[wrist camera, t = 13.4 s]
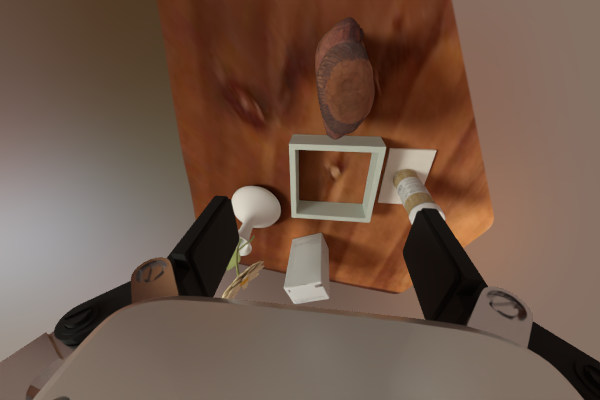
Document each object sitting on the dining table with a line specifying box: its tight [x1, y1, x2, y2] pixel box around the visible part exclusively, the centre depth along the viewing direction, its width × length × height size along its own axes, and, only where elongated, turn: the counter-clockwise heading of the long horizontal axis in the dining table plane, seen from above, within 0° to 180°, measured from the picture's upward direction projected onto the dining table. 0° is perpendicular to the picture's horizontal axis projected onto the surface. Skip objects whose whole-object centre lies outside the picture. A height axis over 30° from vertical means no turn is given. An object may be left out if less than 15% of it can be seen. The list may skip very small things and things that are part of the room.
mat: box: [378, 148, 436, 204], centre depth 44 cm, size 12×8×1 cm, turn 0°
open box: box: [289, 134, 386, 223], centre depth 44 cm, size 16×16×5 cm
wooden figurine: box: [315, 17, 375, 140], centre depth 28 cm, size 12×6×18 cm, turn 12°
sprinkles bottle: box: [393, 169, 446, 224], centre depth 38 cm, size 5×5×13 cm
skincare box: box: [284, 233, 329, 304], centre depth 51 cm, size 8×6×15 cm
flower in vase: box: [222, 186, 281, 299], centre depth 42 cm, size 13×11×25 cm
